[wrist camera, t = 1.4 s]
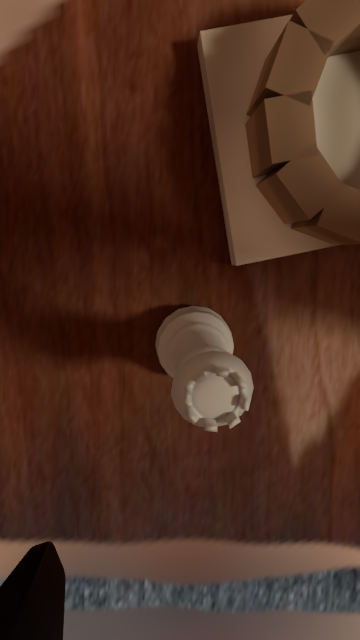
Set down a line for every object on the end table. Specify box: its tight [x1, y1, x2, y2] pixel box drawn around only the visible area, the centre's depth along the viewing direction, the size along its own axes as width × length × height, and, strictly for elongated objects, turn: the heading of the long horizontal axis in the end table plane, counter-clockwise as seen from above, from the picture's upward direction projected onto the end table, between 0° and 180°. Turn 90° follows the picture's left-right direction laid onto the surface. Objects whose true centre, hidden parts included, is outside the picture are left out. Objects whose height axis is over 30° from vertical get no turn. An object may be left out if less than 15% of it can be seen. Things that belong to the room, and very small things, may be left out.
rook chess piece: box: [155, 306, 254, 432], centre depth 16 cm, size 4×4×8 cm
